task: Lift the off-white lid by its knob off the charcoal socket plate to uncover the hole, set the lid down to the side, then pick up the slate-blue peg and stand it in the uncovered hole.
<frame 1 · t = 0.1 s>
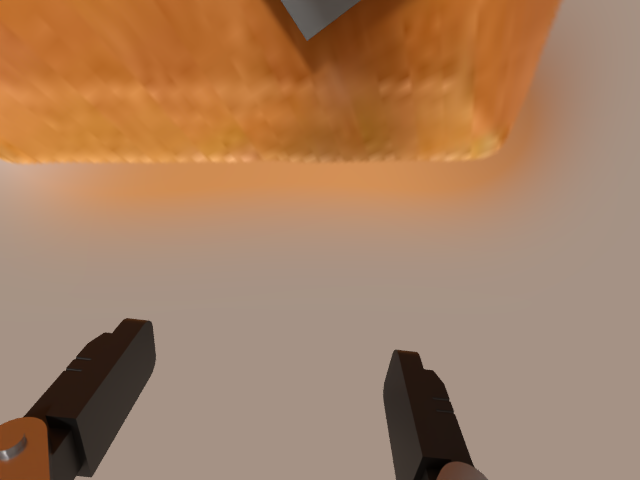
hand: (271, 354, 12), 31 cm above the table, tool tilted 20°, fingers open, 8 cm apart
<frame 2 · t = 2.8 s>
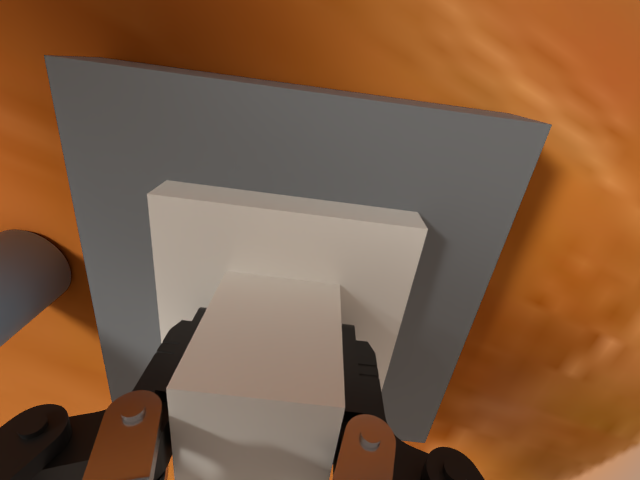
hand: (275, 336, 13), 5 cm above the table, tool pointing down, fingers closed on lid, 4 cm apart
socket plate: (290, 262, 17), on the table
lid: (283, 299, 15), point 3 cm above the table, touching gripper, socket plate
peg: (30, 265, 18), on the table
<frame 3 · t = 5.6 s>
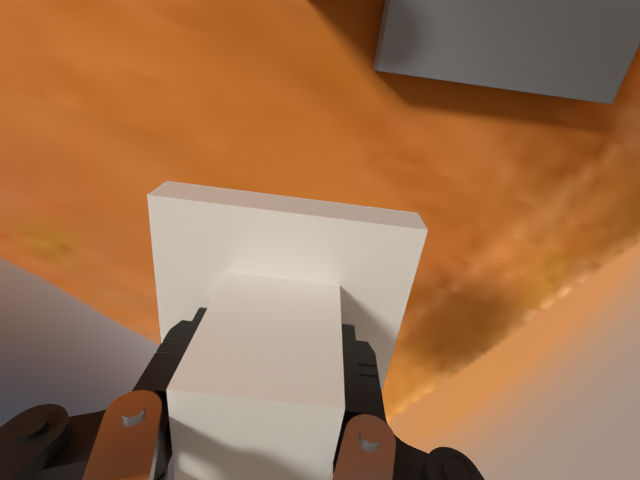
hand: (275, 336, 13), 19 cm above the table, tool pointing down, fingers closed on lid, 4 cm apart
lid: (283, 299, 15), point 17 cm above the table, touching gripper
when the fingers open (4 cm above the table, at t = 8.3 s): lid drops 2 cm, on the table.
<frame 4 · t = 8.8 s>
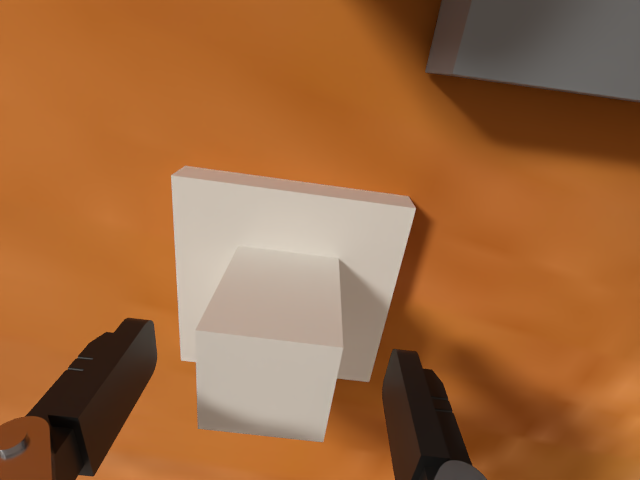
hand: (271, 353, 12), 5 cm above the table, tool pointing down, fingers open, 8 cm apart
lid: (288, 274, 16), on the table
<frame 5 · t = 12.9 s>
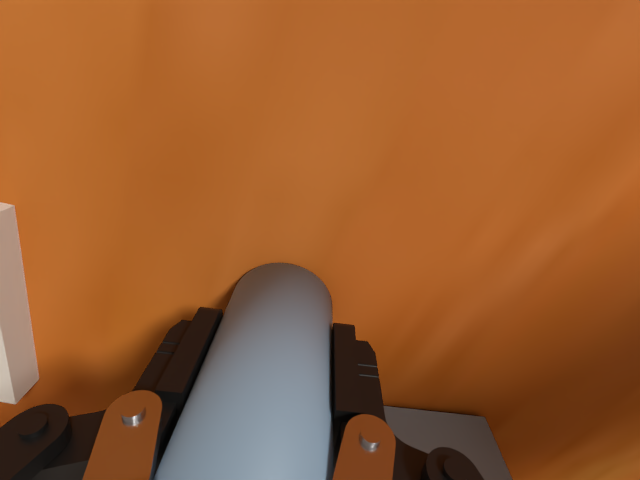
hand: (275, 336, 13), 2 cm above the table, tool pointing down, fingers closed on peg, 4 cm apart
peg: (282, 306, 14), on the table, touching gripper
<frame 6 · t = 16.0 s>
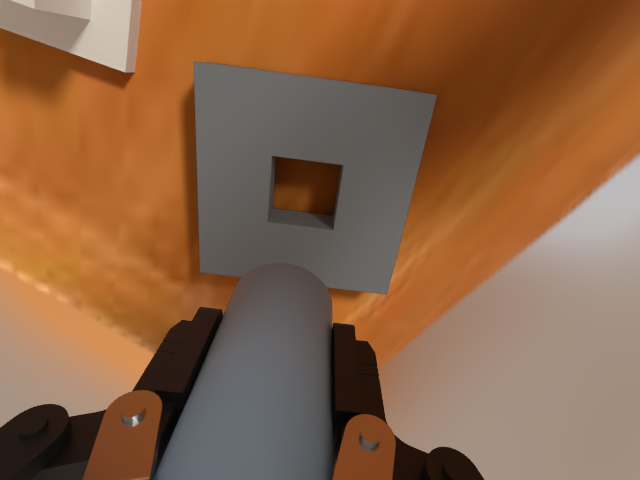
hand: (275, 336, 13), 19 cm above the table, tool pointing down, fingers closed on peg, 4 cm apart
socket plate: (306, 182, 29), on the table
peg: (282, 306, 14), point 17 cm above the table, touching gripper
when the fingers open (4 cm above the table, at t = 19.0 s): peg drops 2 cm, resting in socket plate.
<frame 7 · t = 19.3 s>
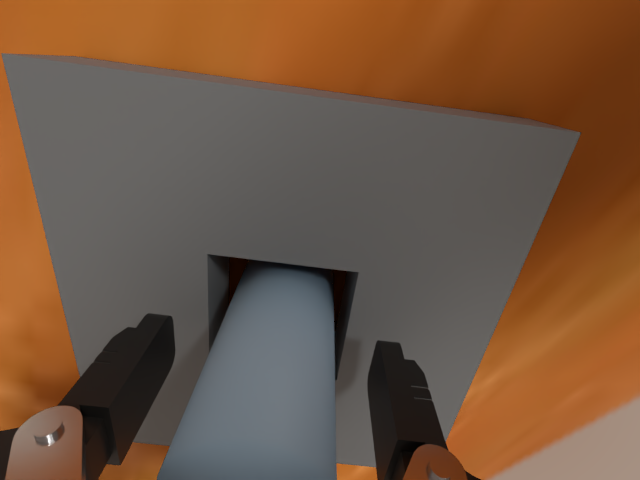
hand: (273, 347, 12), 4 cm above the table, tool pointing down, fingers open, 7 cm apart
socket plate: (286, 279, 16), on the table
peg: (289, 279, 16), resting in socket plate
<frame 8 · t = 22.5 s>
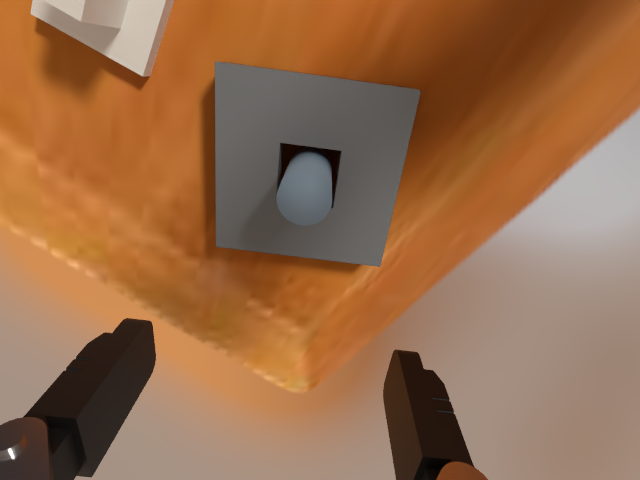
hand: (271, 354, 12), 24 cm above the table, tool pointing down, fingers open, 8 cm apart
socket plate: (309, 167, 33), on the table
peg: (310, 167, 33), resting in socket plate
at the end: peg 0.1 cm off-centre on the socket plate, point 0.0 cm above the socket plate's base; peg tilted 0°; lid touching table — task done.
